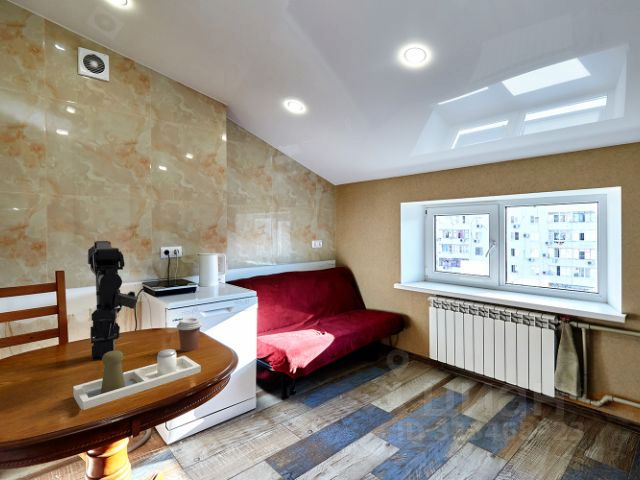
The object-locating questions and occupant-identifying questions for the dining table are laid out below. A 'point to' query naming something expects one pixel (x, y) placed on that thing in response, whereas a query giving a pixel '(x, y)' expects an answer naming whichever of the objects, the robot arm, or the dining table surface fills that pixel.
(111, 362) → the olive pepper shaker
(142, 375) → the condiment rail
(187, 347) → the coffee cup
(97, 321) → the robot arm
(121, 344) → the dining table surface
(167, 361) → the salt shaker
